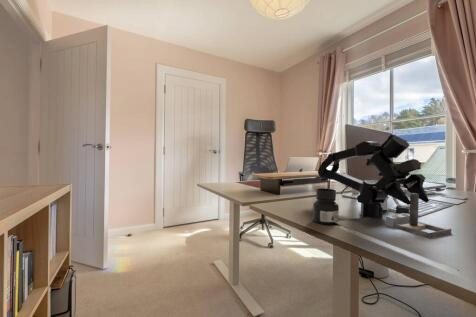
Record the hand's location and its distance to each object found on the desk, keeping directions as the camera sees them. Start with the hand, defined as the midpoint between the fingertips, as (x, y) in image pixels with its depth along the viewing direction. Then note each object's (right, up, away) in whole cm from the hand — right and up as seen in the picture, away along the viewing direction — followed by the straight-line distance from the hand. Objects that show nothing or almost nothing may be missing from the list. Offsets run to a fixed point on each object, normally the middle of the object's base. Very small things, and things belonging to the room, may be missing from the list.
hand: (419, 202), depth 73 cm
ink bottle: (-26, -10, +11) cm, 30 cm away
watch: (+12, -9, +23) cm, 28 cm away
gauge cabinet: (-2, -10, +6) cm, 11 cm away
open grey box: (0, -10, +1) cm, 10 cm away
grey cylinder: (-1, -9, +2) cm, 9 cm away
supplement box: (+4, -9, +31) cm, 33 cm away
